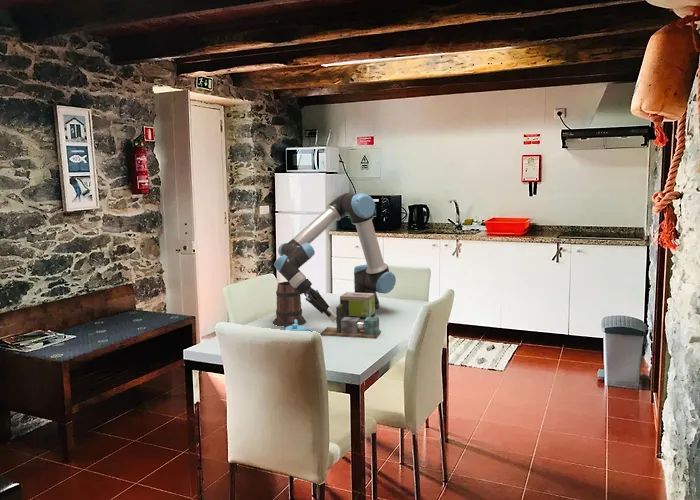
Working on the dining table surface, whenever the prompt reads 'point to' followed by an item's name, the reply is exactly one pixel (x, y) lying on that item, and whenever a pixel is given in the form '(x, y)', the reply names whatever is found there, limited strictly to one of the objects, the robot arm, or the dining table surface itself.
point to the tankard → (288, 306)
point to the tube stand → (355, 328)
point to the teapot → (297, 327)
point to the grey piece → (340, 316)
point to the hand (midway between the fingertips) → (335, 320)
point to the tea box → (358, 305)
